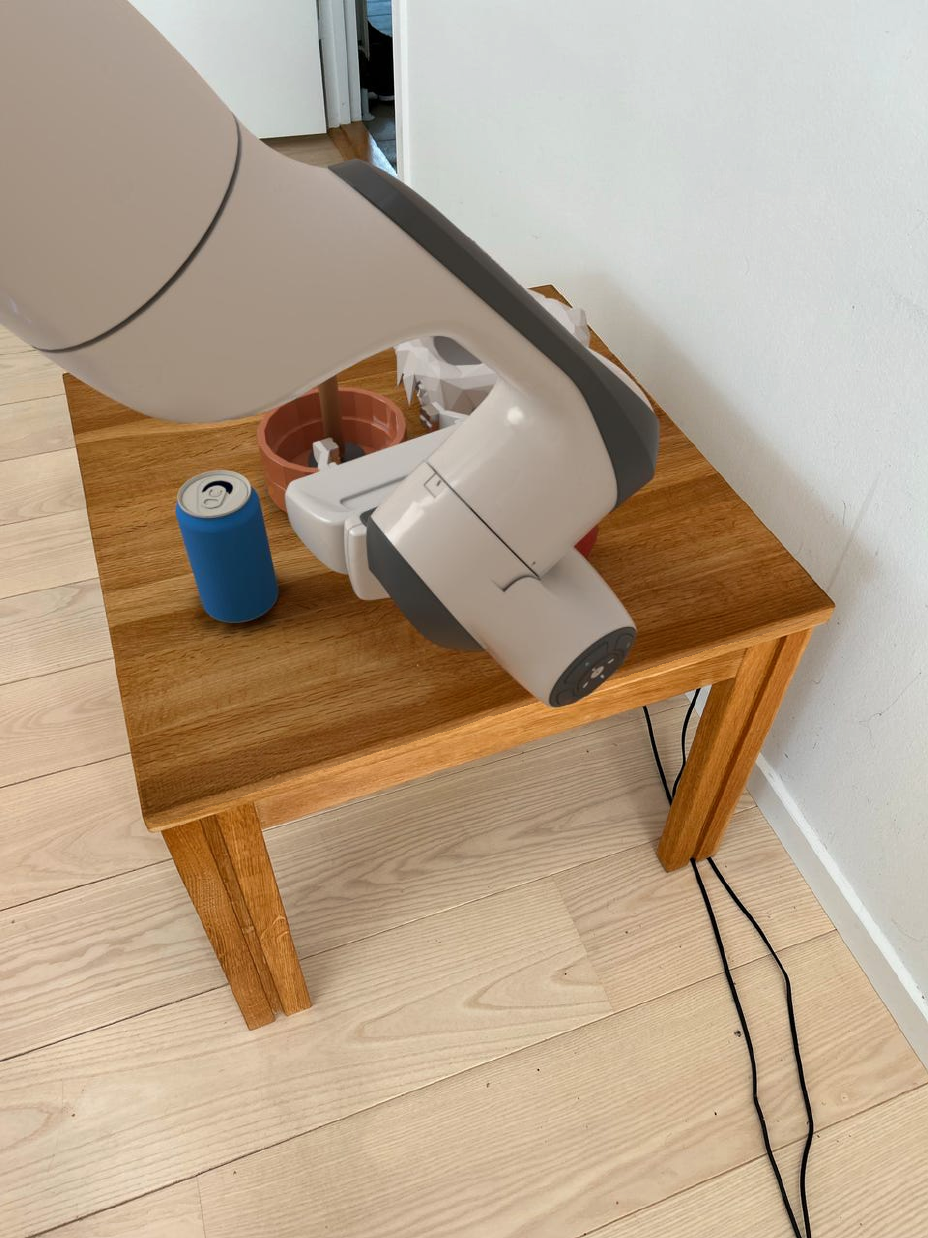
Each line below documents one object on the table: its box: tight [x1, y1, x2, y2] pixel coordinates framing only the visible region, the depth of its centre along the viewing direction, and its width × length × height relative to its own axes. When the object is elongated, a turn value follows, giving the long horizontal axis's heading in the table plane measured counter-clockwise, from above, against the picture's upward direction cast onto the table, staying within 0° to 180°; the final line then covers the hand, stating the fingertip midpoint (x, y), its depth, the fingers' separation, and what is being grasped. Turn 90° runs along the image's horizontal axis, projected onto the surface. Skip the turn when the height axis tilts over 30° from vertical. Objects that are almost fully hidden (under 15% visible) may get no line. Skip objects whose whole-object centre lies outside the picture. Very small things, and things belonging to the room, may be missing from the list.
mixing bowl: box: [256, 386, 408, 514], centre depth 89 cm, size 14×14×6 cm
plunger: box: [308, 374, 366, 468], centre depth 84 cm, size 6×6×20 cm
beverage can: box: [174, 469, 279, 624], centre depth 76 cm, size 6×6×12 cm
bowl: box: [393, 287, 592, 416], centre depth 97 cm, size 21×20×10 cm
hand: (375, 428), depth 74 cm, fingers open, 8 cm apart
